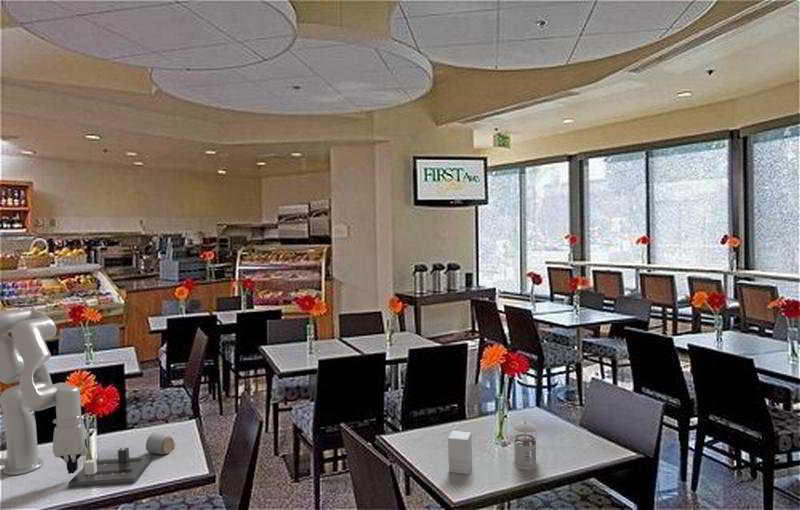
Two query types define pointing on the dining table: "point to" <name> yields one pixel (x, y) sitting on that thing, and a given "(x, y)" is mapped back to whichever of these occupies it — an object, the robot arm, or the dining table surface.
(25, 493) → the dining table surface
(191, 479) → the dining table surface
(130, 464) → the grey slider board
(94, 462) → the white upright block
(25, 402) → the robot arm
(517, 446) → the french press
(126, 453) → the black fader
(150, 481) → the dining table surface
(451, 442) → the supplement box
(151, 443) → the grey cylinder
